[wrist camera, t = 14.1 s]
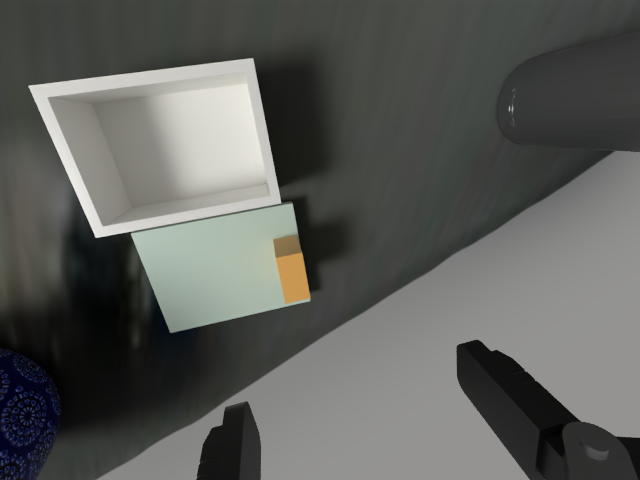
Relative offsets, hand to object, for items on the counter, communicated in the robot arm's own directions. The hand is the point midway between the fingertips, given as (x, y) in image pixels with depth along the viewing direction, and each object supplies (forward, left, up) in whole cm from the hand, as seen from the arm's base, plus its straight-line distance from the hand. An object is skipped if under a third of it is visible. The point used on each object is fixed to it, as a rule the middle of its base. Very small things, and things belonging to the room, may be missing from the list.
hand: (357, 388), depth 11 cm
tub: (+8, -9, -25) cm, 27 cm away
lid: (+8, +4, -25) cm, 26 cm away
